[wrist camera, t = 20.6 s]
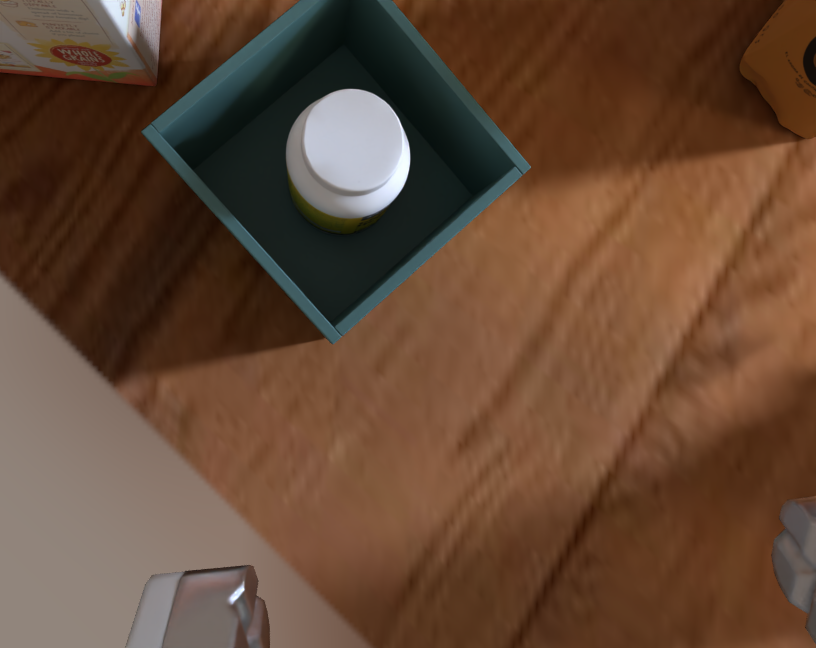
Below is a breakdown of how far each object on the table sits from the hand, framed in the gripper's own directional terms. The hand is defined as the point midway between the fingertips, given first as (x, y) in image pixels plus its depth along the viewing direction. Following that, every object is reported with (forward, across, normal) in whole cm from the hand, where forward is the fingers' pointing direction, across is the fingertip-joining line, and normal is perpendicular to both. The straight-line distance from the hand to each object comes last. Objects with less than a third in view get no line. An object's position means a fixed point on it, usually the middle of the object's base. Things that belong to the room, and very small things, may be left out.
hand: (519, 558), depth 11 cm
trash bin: (+35, +4, +5) cm, 35 cm away
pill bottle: (+34, +4, +5) cm, 35 cm away
